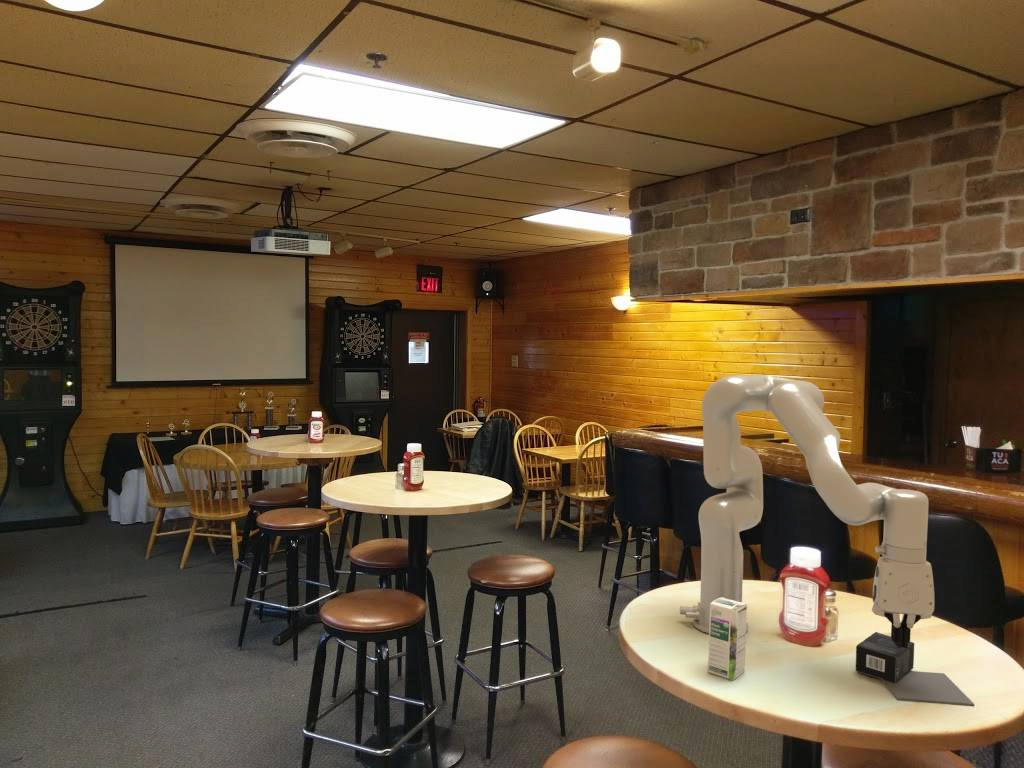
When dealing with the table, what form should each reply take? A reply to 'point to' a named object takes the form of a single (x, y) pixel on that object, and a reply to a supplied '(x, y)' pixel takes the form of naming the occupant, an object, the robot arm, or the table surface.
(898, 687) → the mat
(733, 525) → the robot arm
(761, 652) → the table surface
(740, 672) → the syrup box
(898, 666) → the box
